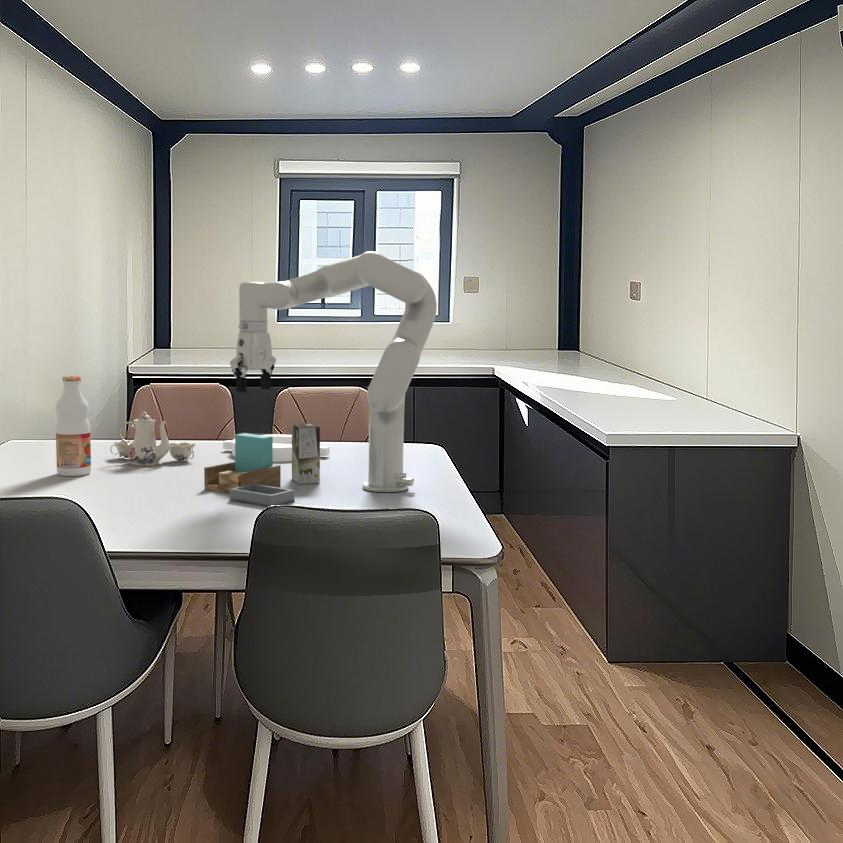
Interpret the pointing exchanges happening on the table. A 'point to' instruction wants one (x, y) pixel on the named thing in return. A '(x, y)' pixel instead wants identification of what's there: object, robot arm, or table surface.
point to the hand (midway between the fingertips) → (253, 390)
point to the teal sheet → (253, 452)
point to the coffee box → (306, 453)
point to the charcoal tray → (262, 495)
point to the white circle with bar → (278, 447)
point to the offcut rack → (259, 476)
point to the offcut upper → (230, 477)
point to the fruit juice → (73, 430)
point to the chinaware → (150, 444)
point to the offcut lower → (229, 485)
